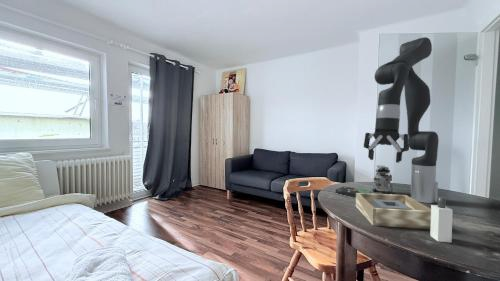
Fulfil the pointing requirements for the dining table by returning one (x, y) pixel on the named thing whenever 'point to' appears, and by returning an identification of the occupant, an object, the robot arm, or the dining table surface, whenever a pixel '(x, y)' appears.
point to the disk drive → (350, 191)
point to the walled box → (394, 211)
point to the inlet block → (389, 204)
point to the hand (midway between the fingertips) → (384, 161)
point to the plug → (441, 221)
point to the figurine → (382, 179)
